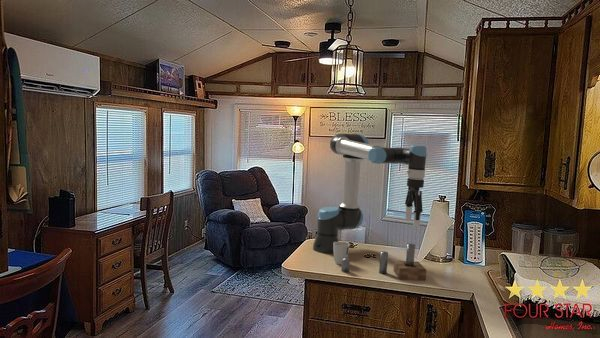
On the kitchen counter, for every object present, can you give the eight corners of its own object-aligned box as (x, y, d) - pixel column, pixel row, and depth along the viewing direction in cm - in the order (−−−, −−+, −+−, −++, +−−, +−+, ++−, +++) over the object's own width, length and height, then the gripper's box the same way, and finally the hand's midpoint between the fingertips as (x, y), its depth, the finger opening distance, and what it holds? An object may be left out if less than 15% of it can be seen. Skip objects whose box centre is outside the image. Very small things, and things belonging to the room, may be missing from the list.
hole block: (393, 270, 210) (394, 260, 210) (417, 271, 210) (418, 261, 210) (399, 279, 198) (400, 268, 198) (425, 280, 198) (426, 269, 198)
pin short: (341, 269, 207) (341, 257, 207) (348, 270, 207) (349, 257, 207) (341, 272, 204) (342, 259, 203) (349, 272, 204) (350, 260, 203)
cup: (347, 266, 213) (348, 246, 212) (331, 264, 214) (332, 244, 213) (349, 261, 221) (350, 242, 220) (333, 260, 222) (334, 240, 221)
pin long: (404, 273, 206) (406, 243, 205) (411, 274, 206) (414, 243, 205) (406, 276, 202) (408, 245, 201) (413, 276, 203) (416, 245, 201)
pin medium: (378, 271, 208) (379, 251, 207) (385, 271, 208) (387, 251, 207) (379, 273, 204) (381, 253, 203) (387, 274, 204) (388, 253, 203)
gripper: (401, 174, 213) (397, 217, 215) (415, 181, 188) (411, 229, 190) (416, 175, 213) (412, 218, 215) (432, 182, 188) (428, 230, 190)
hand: (411, 223), depth 203 cm, fingers open, 13 cm apart
